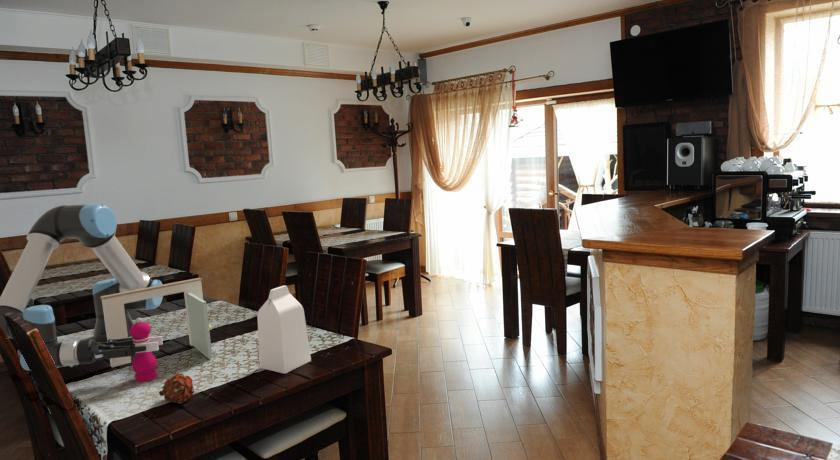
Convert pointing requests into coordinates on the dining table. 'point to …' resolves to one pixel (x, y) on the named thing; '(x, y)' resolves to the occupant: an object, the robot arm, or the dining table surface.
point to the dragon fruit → (177, 389)
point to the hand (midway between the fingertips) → (159, 343)
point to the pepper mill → (143, 353)
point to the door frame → (115, 302)
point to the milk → (282, 332)
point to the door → (199, 324)
